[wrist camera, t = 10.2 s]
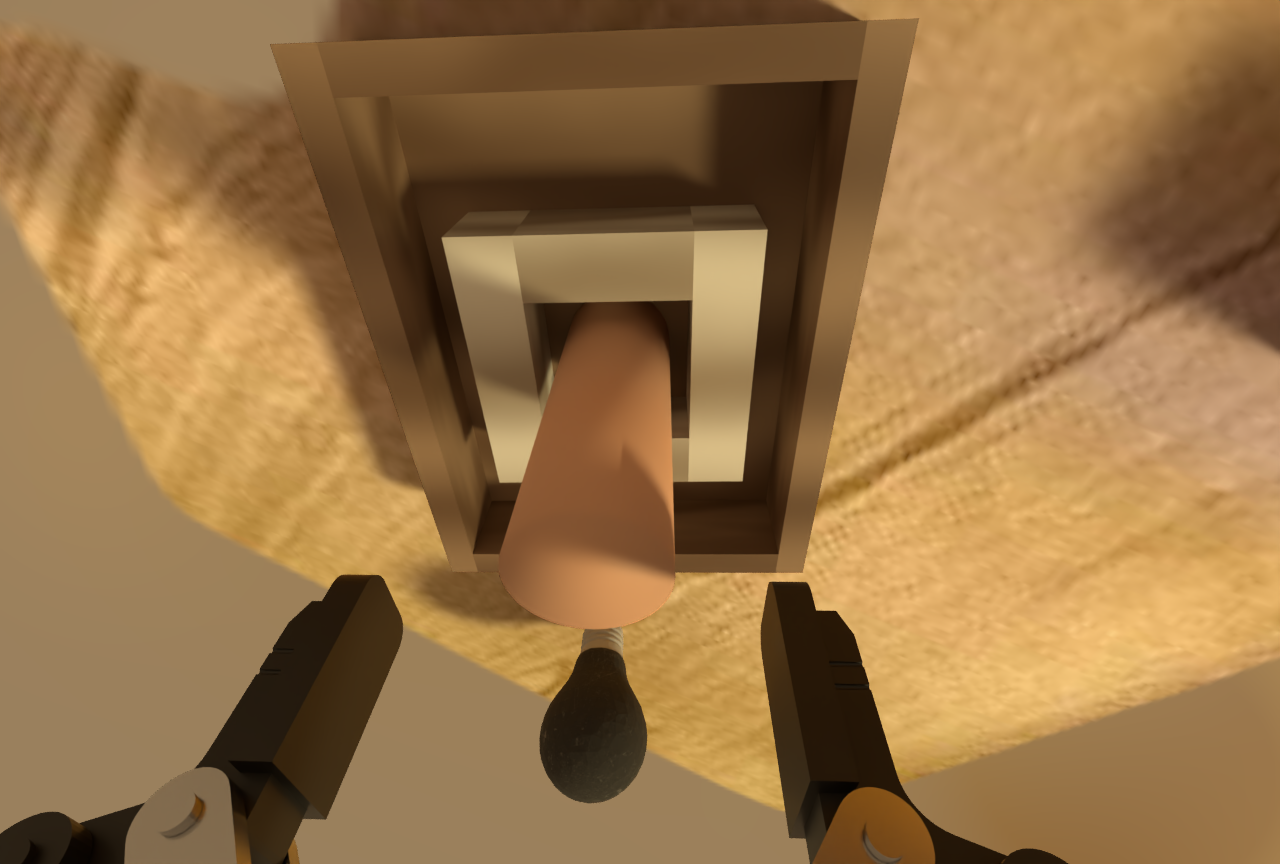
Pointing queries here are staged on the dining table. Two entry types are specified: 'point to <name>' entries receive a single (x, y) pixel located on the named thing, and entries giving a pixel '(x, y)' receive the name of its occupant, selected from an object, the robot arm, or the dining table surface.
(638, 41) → the box
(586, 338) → the peg
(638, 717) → the light bulb
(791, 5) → the dining table surface
